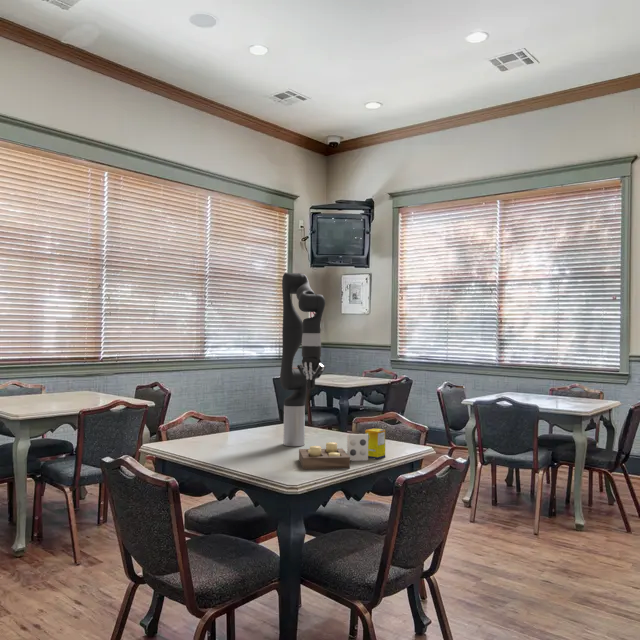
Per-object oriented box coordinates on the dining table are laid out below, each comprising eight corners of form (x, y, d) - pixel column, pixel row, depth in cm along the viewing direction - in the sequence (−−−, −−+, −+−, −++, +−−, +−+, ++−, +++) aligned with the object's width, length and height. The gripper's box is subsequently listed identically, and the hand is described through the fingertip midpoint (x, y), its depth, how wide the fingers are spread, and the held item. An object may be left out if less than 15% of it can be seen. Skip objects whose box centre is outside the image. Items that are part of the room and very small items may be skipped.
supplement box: (373, 455, 244) (373, 427, 244) (385, 457, 240) (385, 429, 240) (364, 457, 239) (364, 429, 239) (377, 459, 235) (377, 431, 236)
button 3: (325, 450, 232) (325, 442, 232) (336, 450, 233) (336, 442, 233) (326, 452, 228) (326, 444, 228) (337, 452, 229) (337, 444, 229)
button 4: (327, 461, 225) (327, 452, 225) (338, 460, 226) (339, 452, 226) (329, 463, 221) (329, 454, 221) (340, 463, 222) (340, 454, 222)
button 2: (309, 454, 224) (309, 445, 225) (320, 454, 225) (320, 445, 225) (310, 456, 220) (310, 448, 220) (321, 456, 221) (321, 447, 221)
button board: (299, 459, 234) (299, 449, 234) (342, 458, 236) (342, 448, 236) (303, 469, 217) (303, 458, 217) (349, 468, 219) (349, 457, 219)
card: (347, 460, 233) (347, 434, 234) (367, 459, 234) (367, 433, 235) (347, 460, 233) (347, 434, 233) (368, 460, 234) (368, 434, 234)
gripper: (330, 345, 235) (330, 389, 235) (304, 344, 243) (304, 387, 243) (318, 345, 229) (318, 391, 229) (292, 344, 238) (291, 388, 237)
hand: (310, 389), depth 236 cm, fingers closed
